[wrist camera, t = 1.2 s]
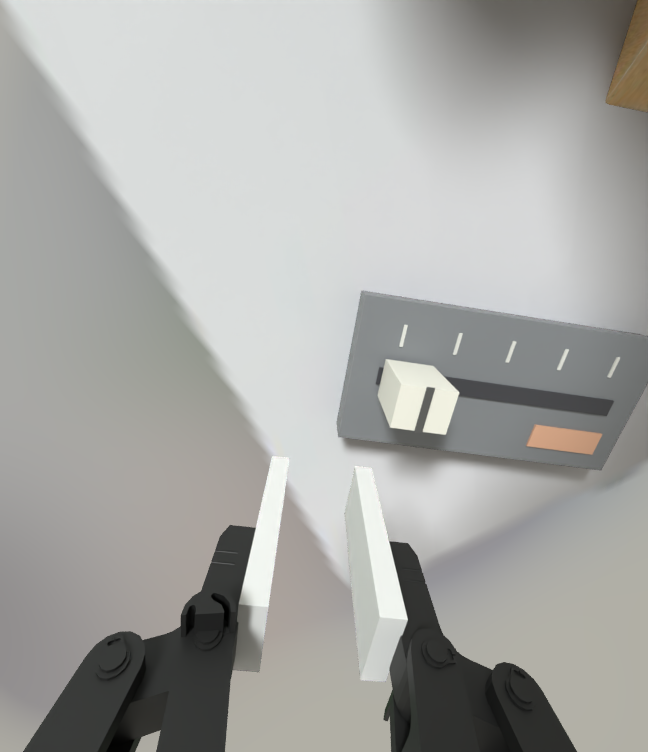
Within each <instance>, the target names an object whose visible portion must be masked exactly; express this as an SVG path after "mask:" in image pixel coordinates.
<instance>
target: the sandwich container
mask: <svg viewBox="0 0 648 752" xmlns="http://www.w3.org/2000/svg"><path fill="white" fill-rule="evenodd" d="M606 103H607V104H609V105H614V106H619V107H624V108H629V109H634V110H639V111H644V112H648V0H637V4H636V7H635V10H634V13H633V16H632V19H631V22H630V26H629V29H628V32H627V35H626V38H625V41H624V44H623V48H622V51H621V54H620V57H619V60H618V63H617V66H616V69H615V73H614V76H613V79H612V82H611V85H610V88H609V91H608V95H607V98H606Z"/></svg>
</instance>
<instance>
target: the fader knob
mask: <svg viewBox="0 0 648 752" xmlns="http://www.w3.org/2000/svg"><path fill="white" fill-rule="evenodd" d="M458 395H459V392H458V391H457V390H456V389H455V388H454V386H453V385H452V384H451V383H450V382H449V381H448V380H447V379H446V378H445V377H444V376H443V375H442V374H441V373H440V372H439V371H438V370H437V369H436V368H435V367H434V366H431V365H424V364H417V363H410V362H403V361H396V360H389V359H386V360H385V365H384V369H383V373H382V378H381V382H380V386H379V391H378V395H377V396H378V398H379V401H380V403H381V406H382V408H383V411H384V413H385V416H386V418H387V421H388V423H389V426H390V428H397V429H405V430H412V431H414V433H422V432H428V433H435V434H443V435H446V433H447V429H448V426H449V423H450V420H451V417H452V414H453V411H454V408H455V405H456V402H457V399H458Z"/></svg>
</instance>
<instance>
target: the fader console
mask: <svg viewBox="0 0 648 752" xmlns="http://www.w3.org/2000/svg"><path fill="white" fill-rule="evenodd" d="M386 359H389V360H396V361H403V362H410V363H417V364H424V365H431V366H434V367H435V368H436V369H437V370H438V371H439V372H440V373H441V374H442V375H443V376H444V377H445V378H446V379H447V380H448V381H449V382H450V383H451V384H452V385H453V386H454V388H455V389H456V390H457V391H458V392H459V395H458V399H457V402H456V405H455V408H454V411H453V414H452V417H451V420H450V423H449V426H448V429H447V433H446V435H443V434H435V433H428V432H422V433H414V431H412V430H405V429H397V428H390V426H389V423H388V421H387V418H386V416H385V413H384V411H383V408H382V406H381V403H380V401H379V398H378V396H377V395H378V391H379V386H380V382H381V378H382V373H383V369H384V365H385V360H386ZM647 384H648V337H647V336H644V335H640V334H634V333H627V332H621V331H615V330H608V329H602V328H596V327H589V326H583V325H577V324H570V323H564V322H558V321H551V320H545V319H538V318H532V317H526V316H519V315H513V314H507V313H500V312H494V311H488V310H481V309H475V308H469V307H462V306H456V305H450V304H443V303H437V302H431V301H424V300H418V299H411V298H405V297H399V296H392V295H386V294H380V293H373V292H367V291H361V296H360V302H359V307H358V312H357V318H356V323H355V328H354V334H353V339H352V344H351V349H350V355H349V360H348V365H347V371H346V376H345V381H344V387H343V392H342V397H341V402H340V408H339V413H338V418H337V430H338V437H343V438H351V439H359V440H367V441H374V442H382V443H390V444H398V445H406V446H414V447H421V448H429V449H437V450H445V451H453V452H461V453H469V454H476V455H484V456H492V457H500V458H508V459H516V460H523V461H531V462H539V463H547V464H555V465H563V466H571V467H578V468H586V469H594V470H602V468H603V466H604V464H605V462H606V460H607V458H608V457H609V455H610V453H611V451H612V449H613V447H614V445H615V443H616V442H617V440H618V438H619V436H620V434H621V432H622V430H623V429H624V427H625V425H626V423H627V421H628V419H629V417H630V415H631V414H632V412H633V410H634V408H635V406H636V404H637V402H638V400H639V399H640V397H641V395H642V393H643V391H644V389H645V387H646V386H647Z"/></svg>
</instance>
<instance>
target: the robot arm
mask: <svg viewBox="0 0 648 752" xmlns="http://www.w3.org/2000/svg"><path fill="white" fill-rule="evenodd" d="M288 465H289V458H286V457H278V456H272V460H271V464H270V469H269V473H268V477H267V482H266V486H265V491H264V495H263V499H262V504H261V508H260V512H259V517H258V522H257V526H256V528H251V527H242V526H233V525H230V526H229V527H228V528H227V529H226V530H225V531H224V532H223V534H222V535H221V536H220V538H219V541H218V544H217V547H216V550H215V553H214V556H213V558H212V562H211V564H210V567H209V570H208V573H207V576H206V579H205V582H204V585H203V587H202V590H201V592H199V593H198V594H196V595H194V596H193V597H192V598H191V599H190V600H189V601H188V602H187V603H186V605H185V607H184V609H183V611H182V614H181V626H180V627H179V628H177V629H176V630H174V631H172V632H170V633H167V634H164V635H161V636H157V637H153V638H150V639H145V640H142V639H141V637H140V636H139V635H137V634H135V633H133V632H118V633H115V634H113V635H110V636H107V637H106V638H105V639H104V640H102V641H100V642H99V643H98V644H96V645H95V646H94V648H93V649H92V650H91V651H90V652H89V653H88V655H87V656H86V657H85V659H84V660H83V662H82V663H81V665H80V666H79V668H78V669H77V671H76V672H75V674H74V676H73V677H72V678H71V680H70V681H69V683H68V684H67V686H66V687H65V689H64V690H63V692H62V694H61V695H60V697H59V698H58V700H57V701H56V703H55V704H54V706H53V707H52V709H51V710H50V712H49V713H48V715H47V716H46V718H45V719H44V721H43V722H42V724H41V725H40V727H39V729H38V730H37V731H36V733H35V734H34V736H33V737H32V739H31V741H30V742H29V744H28V745H27V747H26V748H25V750H24V751H23V752H135V751H136V748H137V746H138V744H139V741H140V739H141V737H142V736H145V735H148V734H151V733H154V732H156V731H159V730H161V732H160V736H159V741H158V746H157V751H156V752H225V742H226V729H227V716H228V704H229V692H230V679H231V675H232V670H238V671H252V672H259V671H260V663H261V656H262V649H263V642H264V634H265V628H266V621H267V614H268V607H269V600H270V592H271V586H272V579H273V572H274V564H275V558H276V551H277V544H278V536H279V530H280V523H281V515H282V509H283V502H284V494H285V487H286V480H287V473H288ZM344 514H345V525H346V535H347V546H348V556H349V567H350V577H351V588H352V598H353V609H354V620H355V630H356V640H357V651H358V662H359V672H360V680H365V681H378V682H386V680H387V677H388V674H389V671H390V675H391V681H392V687H393V690H392V693H391V696H390V698H389V701H388V703H387V706H386V709H385V713H384V720H385V721H388V719H389V716H390V731H391V752H577V751H576V749H575V747H574V746H573V744H572V742H571V740H570V739H569V737H568V735H567V733H566V732H565V730H564V728H563V727H562V725H561V723H560V721H559V719H558V718H557V716H556V714H555V713H554V711H553V709H552V707H551V705H550V704H549V702H548V700H547V698H546V697H545V695H544V693H543V691H542V690H541V689H540V687H539V686H538V684H537V683H536V682H535V680H534V679H533V678H532V677H531V676H530V675H529V674H527V673H526V672H525V671H524V670H523V669H521V668H519V667H518V666H516V665H514V664H510V663H506V662H503V663H500V664H497V665H496V666H495V668H494V669H493V670H491V669H489V668H487V667H484V666H482V665H480V664H478V663H475V662H473V661H471V660H469V659H467V658H465V657H464V656H462V655H461V654H459V653H458V652H457V651H456V649H455V648H454V647H453V645H452V644H451V642H450V641H449V640H448V639H447V638H446V637H445V636H443V633H442V631H441V629H440V626H439V623H438V620H437V616H436V613H435V610H434V607H433V604H432V601H431V598H430V595H429V591H428V588H427V585H426V584H425V579H424V576H423V573H422V569H421V566H420V563H419V560H418V557H417V555H416V554H415V552H414V551H413V550H412V548H411V547H410V545H409V544H408V543H399V542H390V541H389V539H388V534H387V530H386V526H385V522H384V518H383V514H382V509H381V505H380V501H379V497H378V493H377V488H376V484H375V480H374V476H373V472H372V468H368V467H360V466H355V468H354V473H353V477H352V482H351V486H350V491H349V495H348V500H347V504H346V509H345V513H344Z"/></svg>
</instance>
